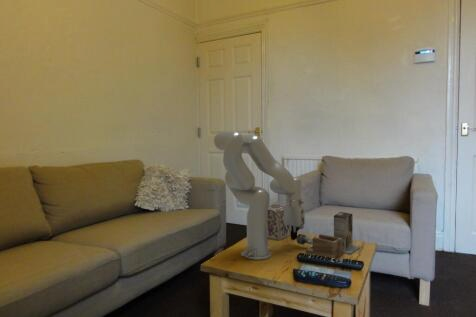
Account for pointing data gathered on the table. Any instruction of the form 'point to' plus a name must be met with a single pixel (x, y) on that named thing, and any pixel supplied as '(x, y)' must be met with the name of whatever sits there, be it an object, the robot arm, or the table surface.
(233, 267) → the table surface
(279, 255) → the table surface
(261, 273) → the table surface
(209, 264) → the table surface
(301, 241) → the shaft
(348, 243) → the coffee box
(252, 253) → the robot arm
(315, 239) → the brown open box
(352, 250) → the spacer mat
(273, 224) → the decorative jar
